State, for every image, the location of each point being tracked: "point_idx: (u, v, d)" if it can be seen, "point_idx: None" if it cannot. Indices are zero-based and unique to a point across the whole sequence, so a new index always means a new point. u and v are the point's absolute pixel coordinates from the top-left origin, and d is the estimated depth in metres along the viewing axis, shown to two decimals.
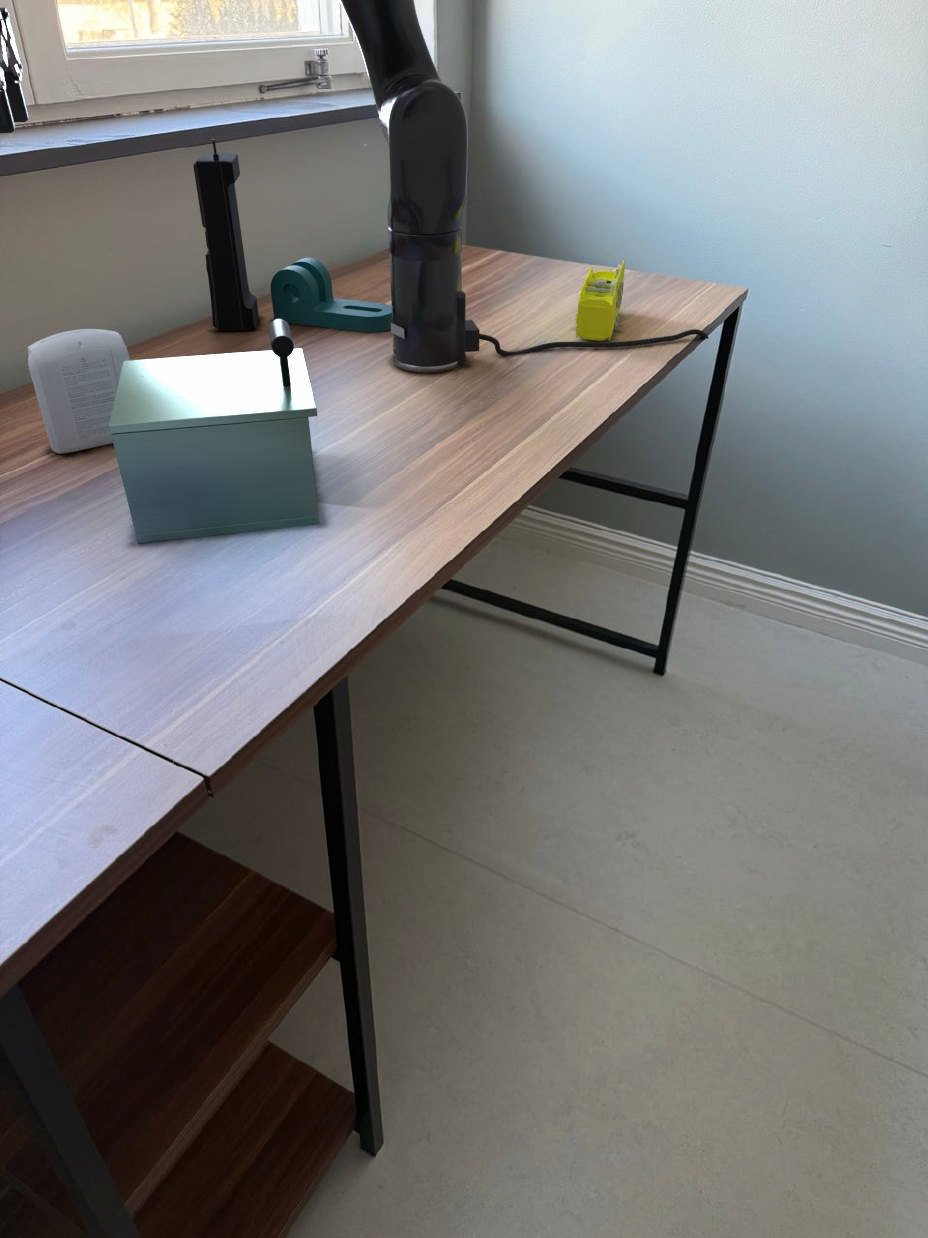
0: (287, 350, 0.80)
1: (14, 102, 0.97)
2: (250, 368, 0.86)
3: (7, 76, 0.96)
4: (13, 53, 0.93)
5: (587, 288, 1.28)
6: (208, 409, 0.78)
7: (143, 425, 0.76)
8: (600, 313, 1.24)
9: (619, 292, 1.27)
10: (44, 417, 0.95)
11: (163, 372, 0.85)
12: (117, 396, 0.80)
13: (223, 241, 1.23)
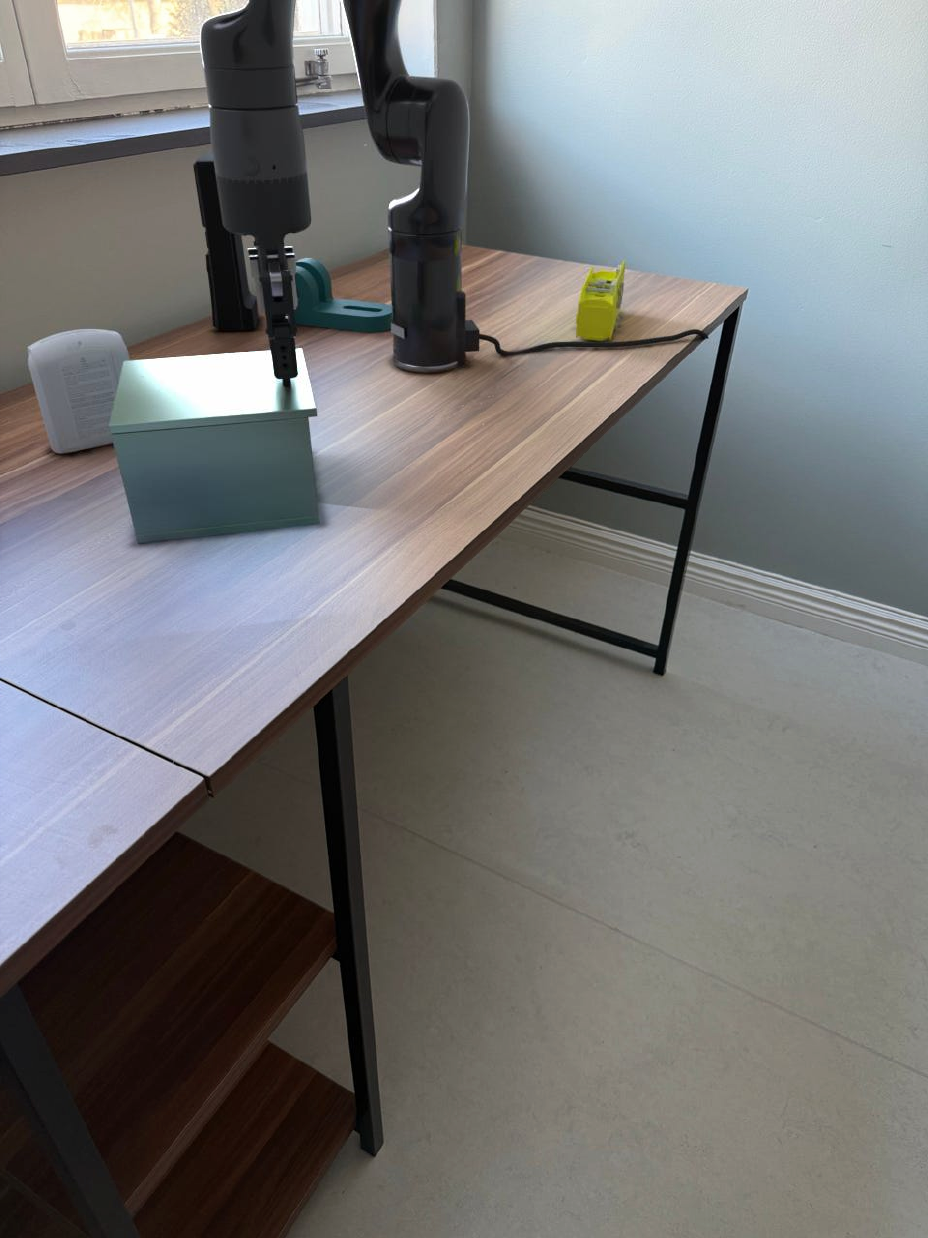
0: None
1: None
2: (250, 368, 0.86)
3: None
4: None
5: (587, 288, 1.28)
6: (208, 409, 0.78)
7: (143, 425, 0.76)
8: (600, 313, 1.24)
9: (619, 292, 1.27)
10: (44, 417, 0.95)
11: (163, 372, 0.85)
12: (117, 396, 0.80)
13: (223, 241, 1.23)
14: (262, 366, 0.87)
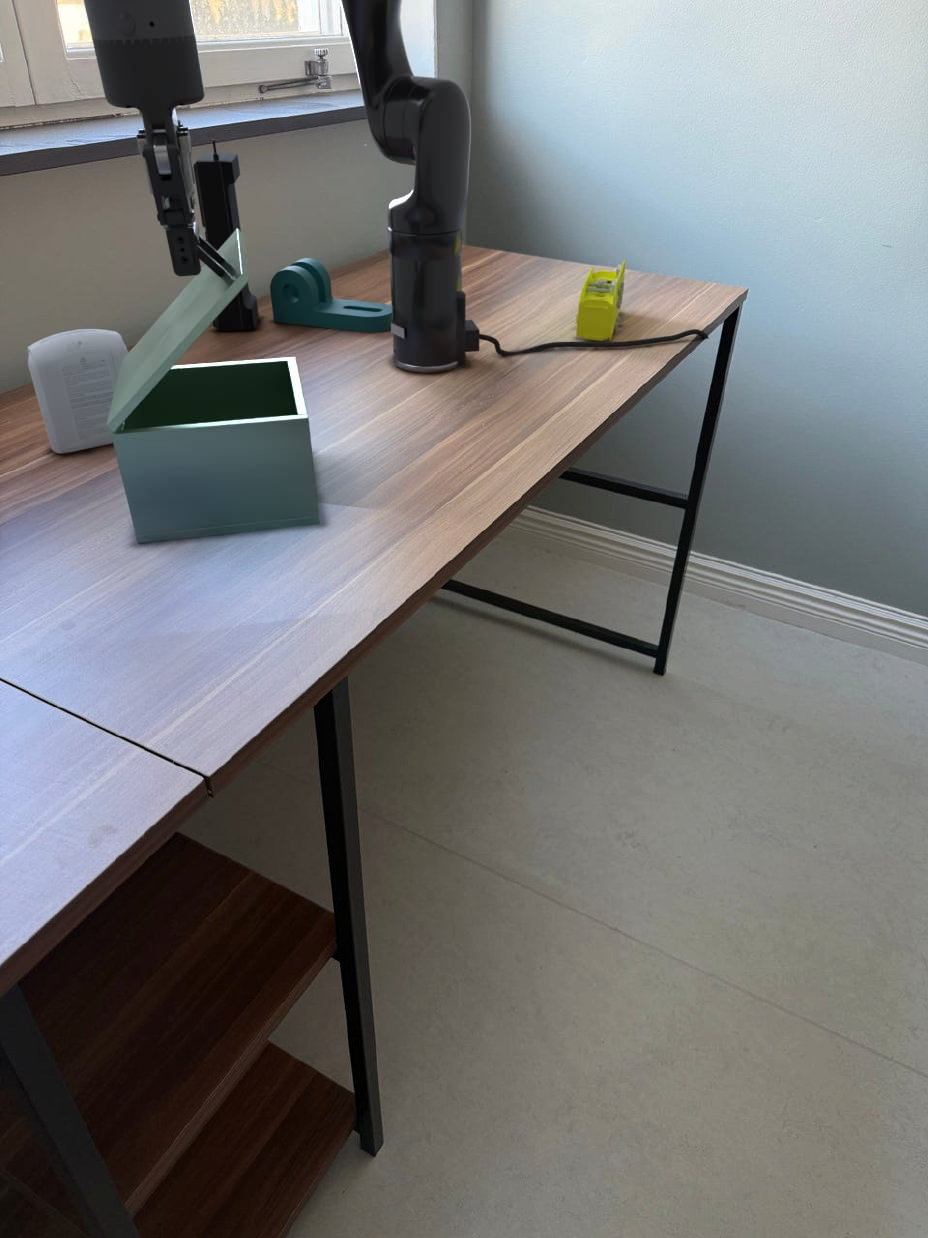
0: None
1: None
2: (199, 284, 0.81)
3: (179, 202, 0.76)
4: (191, 170, 0.74)
5: (587, 288, 1.28)
6: (168, 349, 0.74)
7: (128, 405, 0.75)
8: (601, 313, 1.24)
9: (619, 292, 1.27)
10: (44, 417, 0.95)
11: (143, 346, 0.83)
12: (113, 396, 0.80)
13: (223, 241, 1.23)
14: (207, 274, 0.81)
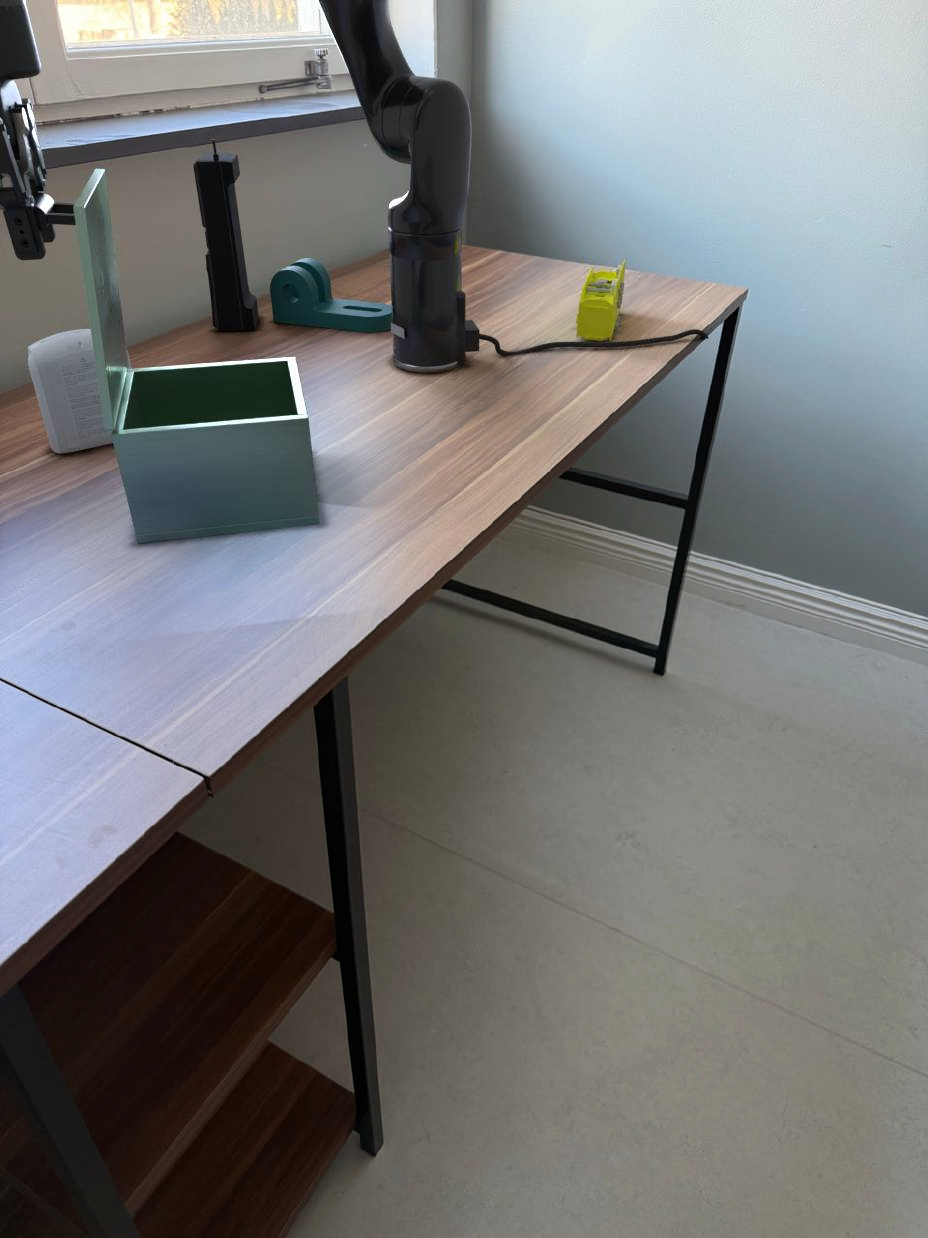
0: (37, 214, 0.70)
1: None
2: None
3: None
4: (35, 150, 0.71)
5: (588, 288, 1.28)
6: None
7: (103, 398, 0.74)
8: (601, 313, 1.24)
9: (620, 292, 1.27)
10: (44, 417, 0.95)
11: None
12: None
13: (223, 241, 1.23)
14: None
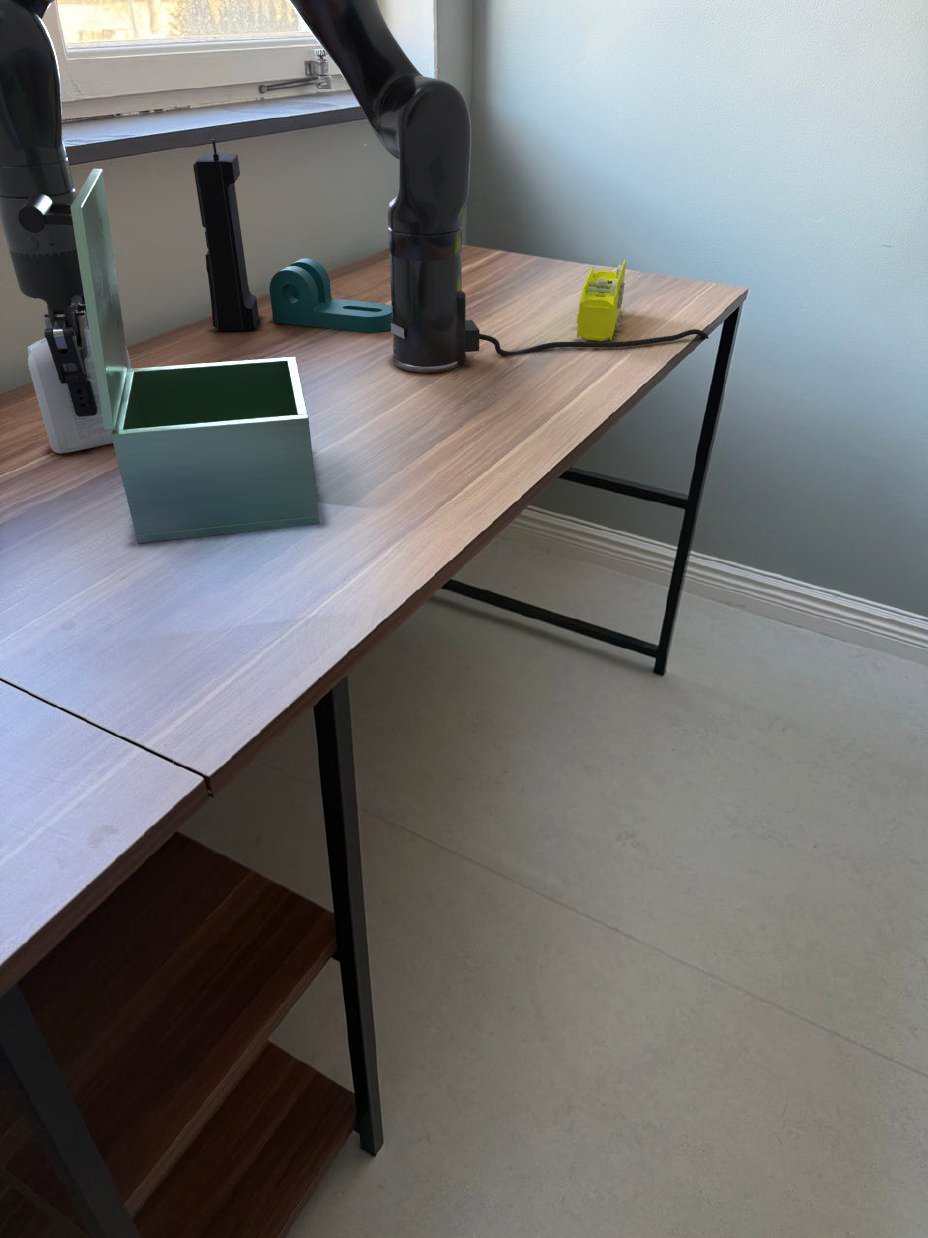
0: (35, 214, 0.70)
1: None
2: None
3: None
4: None
5: (588, 288, 1.28)
6: None
7: (102, 398, 0.74)
8: (601, 313, 1.24)
9: (620, 292, 1.27)
10: (44, 417, 0.95)
11: None
12: None
13: (223, 241, 1.23)
14: None
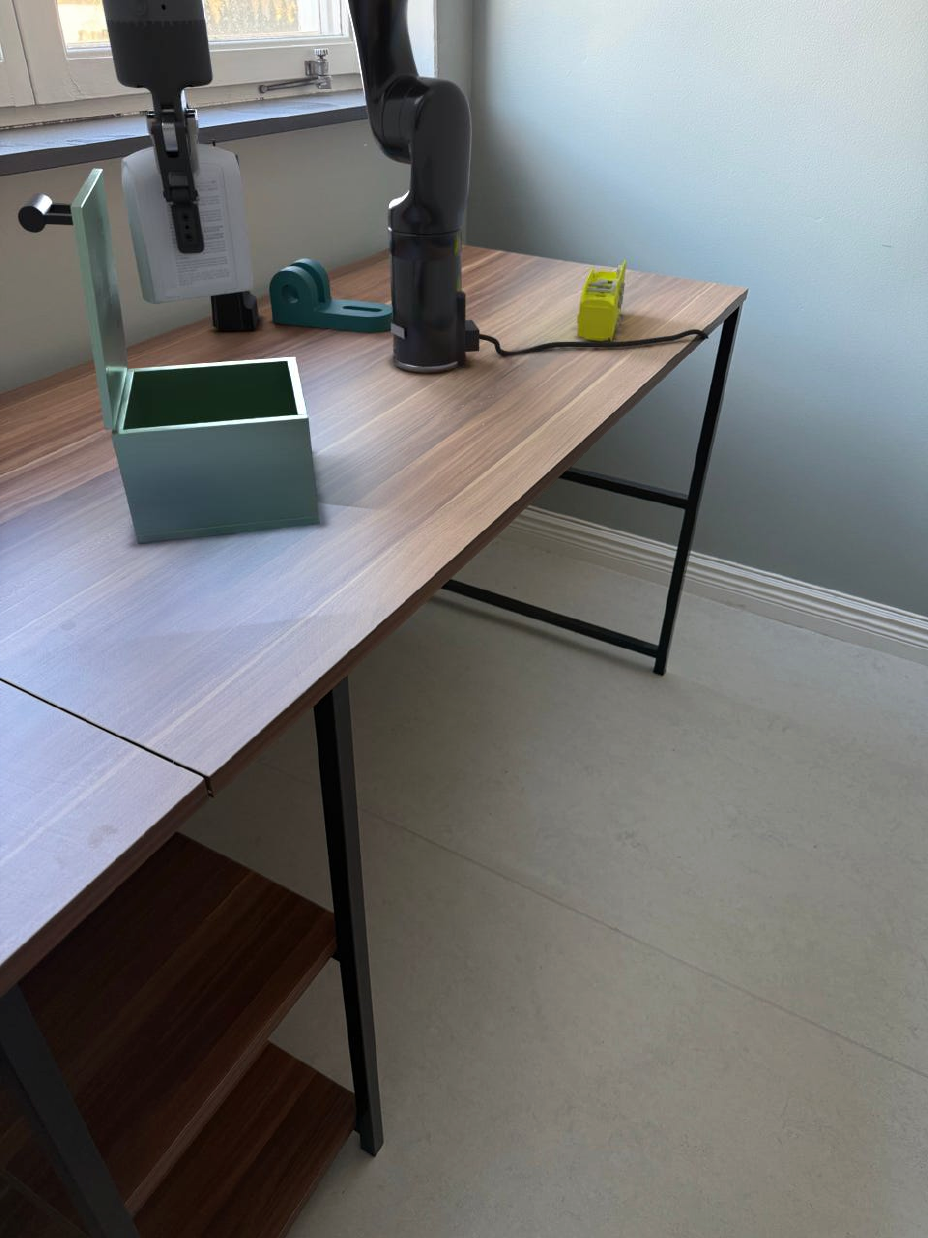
0: (35, 214, 0.70)
1: None
2: None
3: None
4: None
5: (588, 288, 1.28)
6: None
7: (102, 398, 0.74)
8: (602, 313, 1.24)
9: (620, 292, 1.27)
10: (138, 254, 0.76)
11: None
12: None
13: None
14: None
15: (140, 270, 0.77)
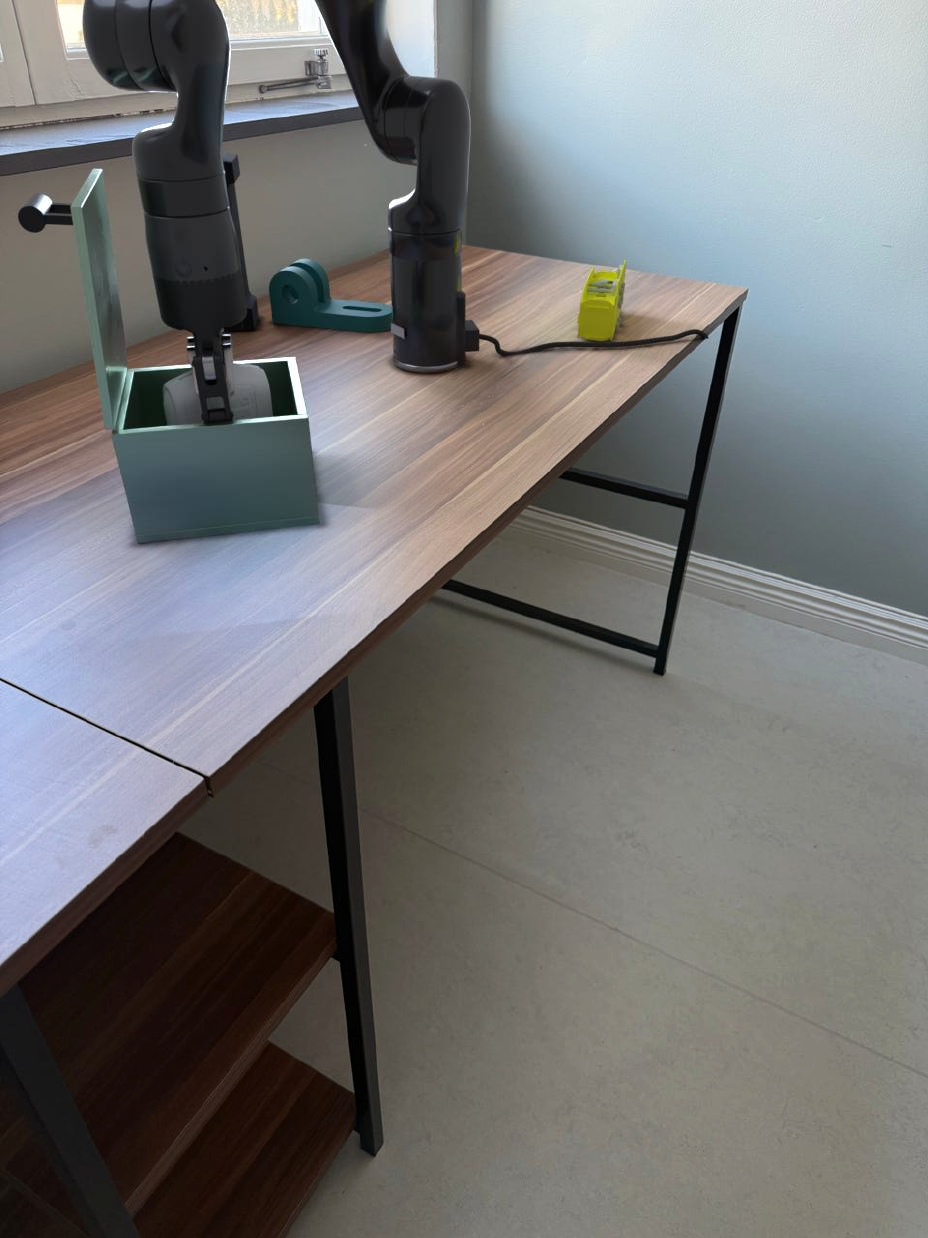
0: (35, 214, 0.70)
1: None
2: None
3: None
4: None
5: (589, 288, 1.28)
6: None
7: (102, 398, 0.74)
8: (602, 313, 1.24)
9: (621, 292, 1.27)
10: None
11: None
12: None
13: None
14: None
15: None
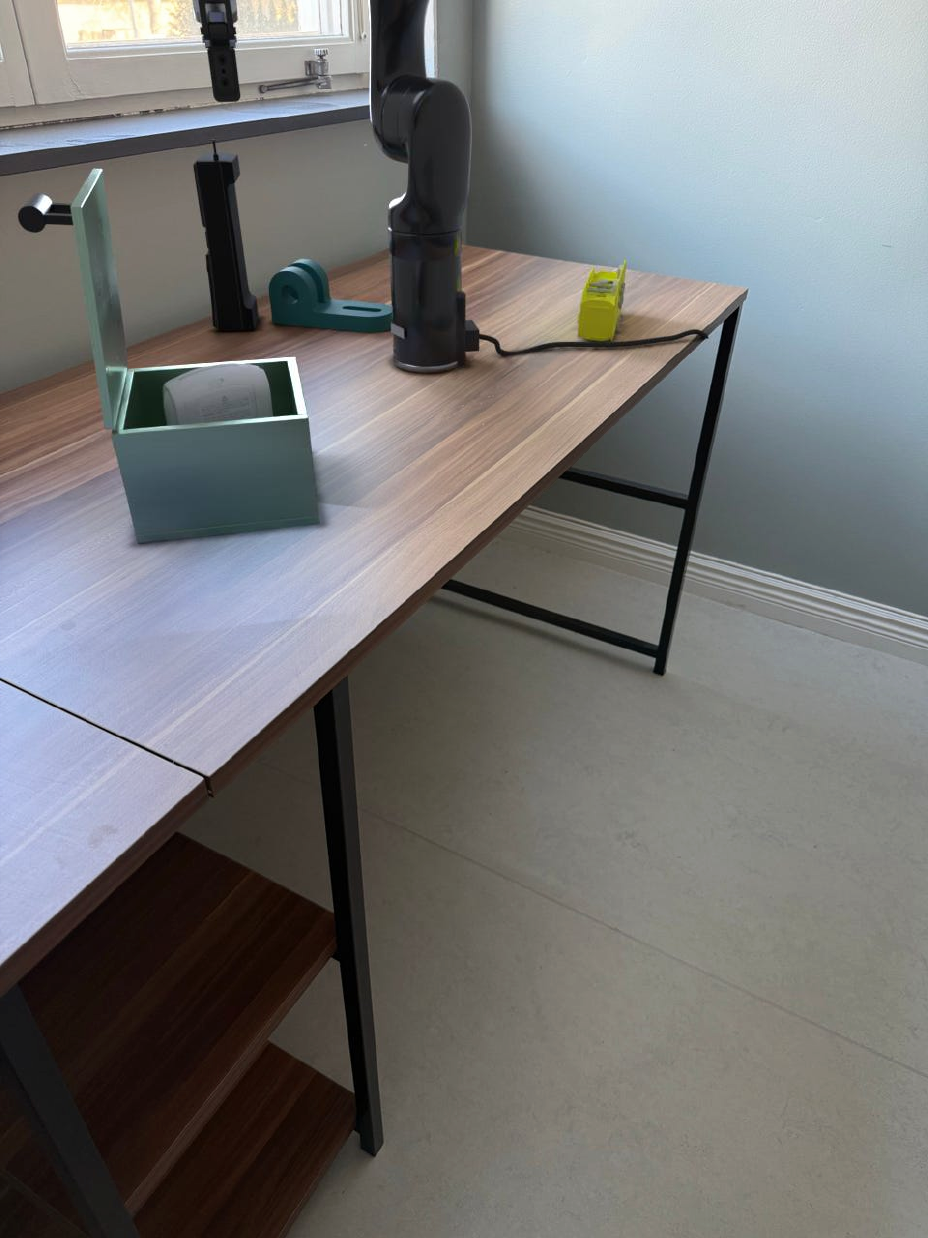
0: (35, 214, 0.70)
1: None
2: None
3: None
4: None
5: (589, 288, 1.28)
6: None
7: (102, 398, 0.74)
8: (602, 313, 1.24)
9: (621, 292, 1.27)
10: None
11: None
12: None
13: (223, 241, 1.23)
14: None
15: None
